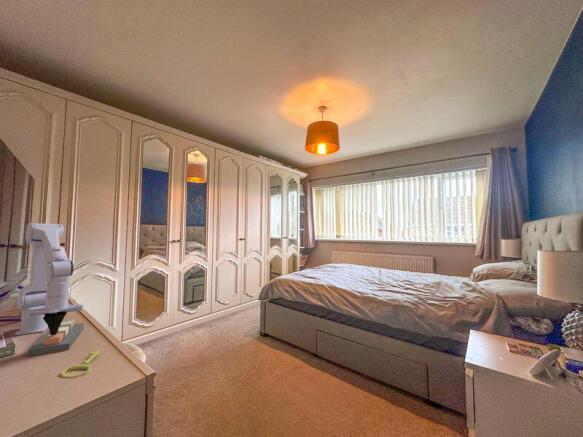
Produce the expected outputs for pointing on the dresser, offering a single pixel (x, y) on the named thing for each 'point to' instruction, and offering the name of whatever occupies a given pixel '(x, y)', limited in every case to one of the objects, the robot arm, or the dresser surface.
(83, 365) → the key
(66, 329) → the cream key
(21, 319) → the robot arm
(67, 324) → the sage key
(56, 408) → the dresser surface
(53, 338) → the terracotta key
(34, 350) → the grey flat frame
